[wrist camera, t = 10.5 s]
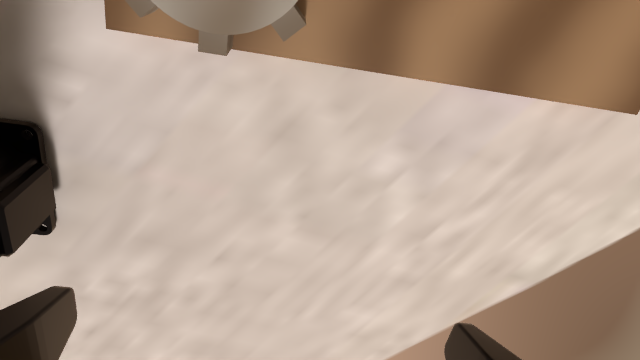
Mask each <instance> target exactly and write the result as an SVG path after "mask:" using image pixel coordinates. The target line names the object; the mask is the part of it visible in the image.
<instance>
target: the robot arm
mask: <svg viewBox="0 0 640 360" xmlns="http://www.w3.org/2000/svg"><path fill="white" fill-rule="evenodd" d="M26 130H28V131H30V132H31V133H32V135H33V136H29V135H28V134H27V132H26ZM55 208H56V204H55V197H54V190H53V183H52V176H51V169H50V167H49V166H48V165H47V161H46V154H45V147H44V141H43V134H42V131H41V129H40V128H39V126H37V125H36V124H34V123H31V122H25V121H17V120H10V119H2V118H0V257H1V256H7V257H9V256H10V255H12V254H13V253H14V252H15V251H16V250H17V249H18V248H19V247H20V246H21V245H22V244H23V243H24V242H25V241H26V240H27V239H28V237H29V236H30V235H31V234H38V235H48V234H50V233H51V232H52V231H53V230H54V229H55V227H56V222H55V215H54V210H55ZM42 224H44V225H46V226H47V227H44V226H43V225H42ZM76 320H77V309H76V302H75V294H74V290H73V289H72V288H70V287H60V286H53V287H50V288H48V289H46V290H43V291H41V292H39V293H37V294H35V295H33V296H30V297H28V298H26V299H24V300H22V301H19V302H17V303H15V304H13V305H11V306H9V307H6V308H4V309H2V310H0V360H58V359H59V357H60V355H61V353H62V351H63V349H64V347H65V345H66V343H67V341H68V339H69V337H70V335H71V333H72V331H73V329H74V326H75V324H76ZM445 358H446V360H522V359H520V358H519V357H517V356H516V355H515V354H513V353H512V352H510V351H509V350H508V349H506V348H505V347H503V346H502V345H501V344H499V343H498V342H496V341H495V340H494V339H492V338H491V337H489V336H488V335H486V334H485V333H484V332H482V331H481V330H480V329H478V328H477V327H475V326H474V325H472V324H467V323H456V324H455V325H454V327H453V329H452V331H451V333H450V335H449V338H448V340H447V342H446V345H445Z"/></svg>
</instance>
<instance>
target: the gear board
mask: <svg viewBox="0 0 640 360" xmlns="http://www.w3.org/2000/svg"><path fill="white" fill-rule="evenodd" d="M104 2H105V18H106V29H111V30H118V31H124V32H130V33H136V34H142V35H148V36H155V37H161V38H167V39H173V40H179V41H185V42H192V43H198V51H199V52H205V53H211V54H218V55H224V56H227V54H228V53H229V51H230V50H231V49H235V50H241V51H247V52H253V53H259V54H265V55H272V56H278V57H284V58H290V59H296V60H302V61H309V62H315V63H321V64H327V65H333V66H339V67H346V68H352V69H358V70H364V71H370V72H376V73H383V74H389V75H395V76H401V77H407V78H413V79H419V80H426V81H432V82H438V83H444V84H450V85H456V86H463V87H469V88H475V89H481V90H487V91H493V92H500V93H506V94H512V95H518V96H524V97H530V98H537V99H543V100H549V101H555V102H561V103H567V104H573V105H580V106H586V107H592V108H598V109H604V110H610V111H617V112H623V113H629V114H635V115H637V114H638V112H639V110H640V0H104Z"/></svg>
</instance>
